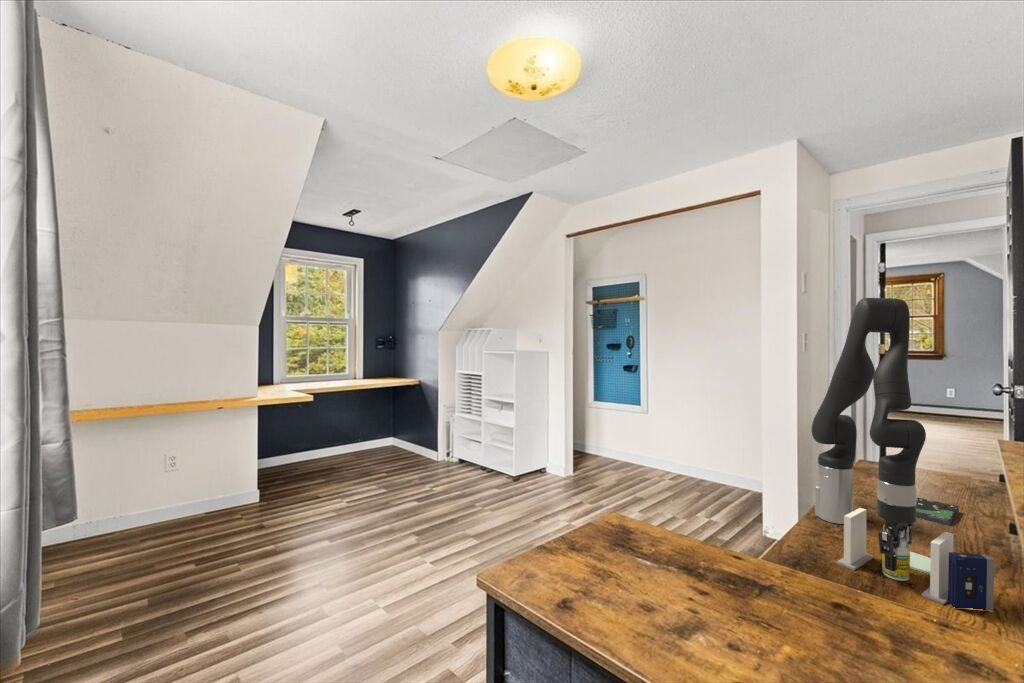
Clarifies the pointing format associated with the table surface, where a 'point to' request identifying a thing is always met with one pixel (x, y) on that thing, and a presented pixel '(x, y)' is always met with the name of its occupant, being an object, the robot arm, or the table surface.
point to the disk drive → (936, 511)
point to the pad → (920, 562)
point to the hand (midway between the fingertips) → (895, 565)
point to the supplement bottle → (899, 564)
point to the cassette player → (971, 581)
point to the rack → (858, 556)
